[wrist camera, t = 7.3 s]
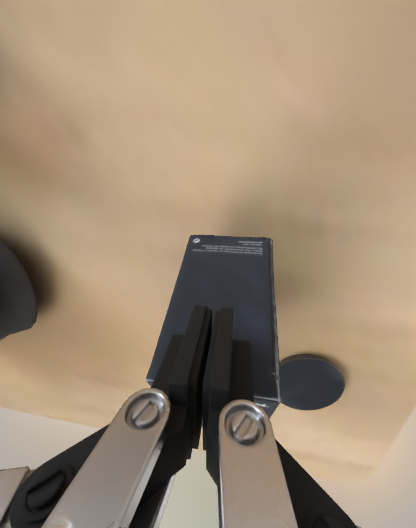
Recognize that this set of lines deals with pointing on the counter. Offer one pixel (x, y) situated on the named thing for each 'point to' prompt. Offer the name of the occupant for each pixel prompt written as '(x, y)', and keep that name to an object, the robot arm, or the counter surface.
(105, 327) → the counter surface
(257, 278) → the small box
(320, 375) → the slate coaster
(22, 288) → the casserole
